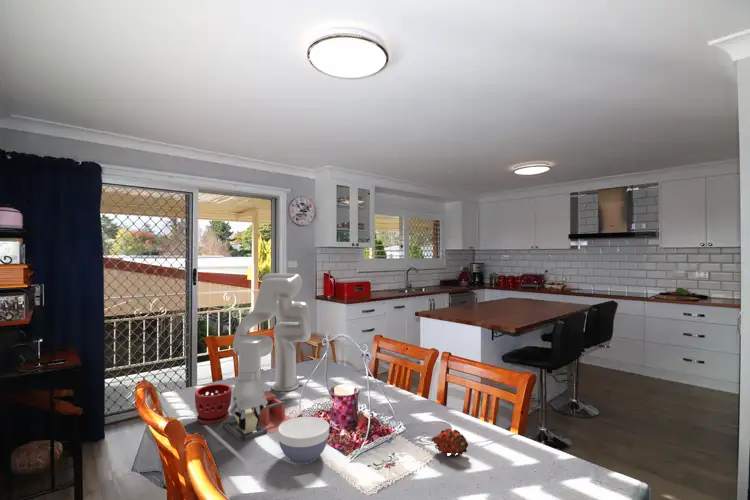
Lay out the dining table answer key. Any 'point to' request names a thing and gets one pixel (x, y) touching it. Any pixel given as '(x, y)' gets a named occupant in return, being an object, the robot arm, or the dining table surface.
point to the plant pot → (213, 403)
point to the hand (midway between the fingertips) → (248, 426)
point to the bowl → (303, 438)
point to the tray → (240, 436)
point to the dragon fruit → (450, 442)
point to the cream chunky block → (248, 421)
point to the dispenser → (272, 413)
